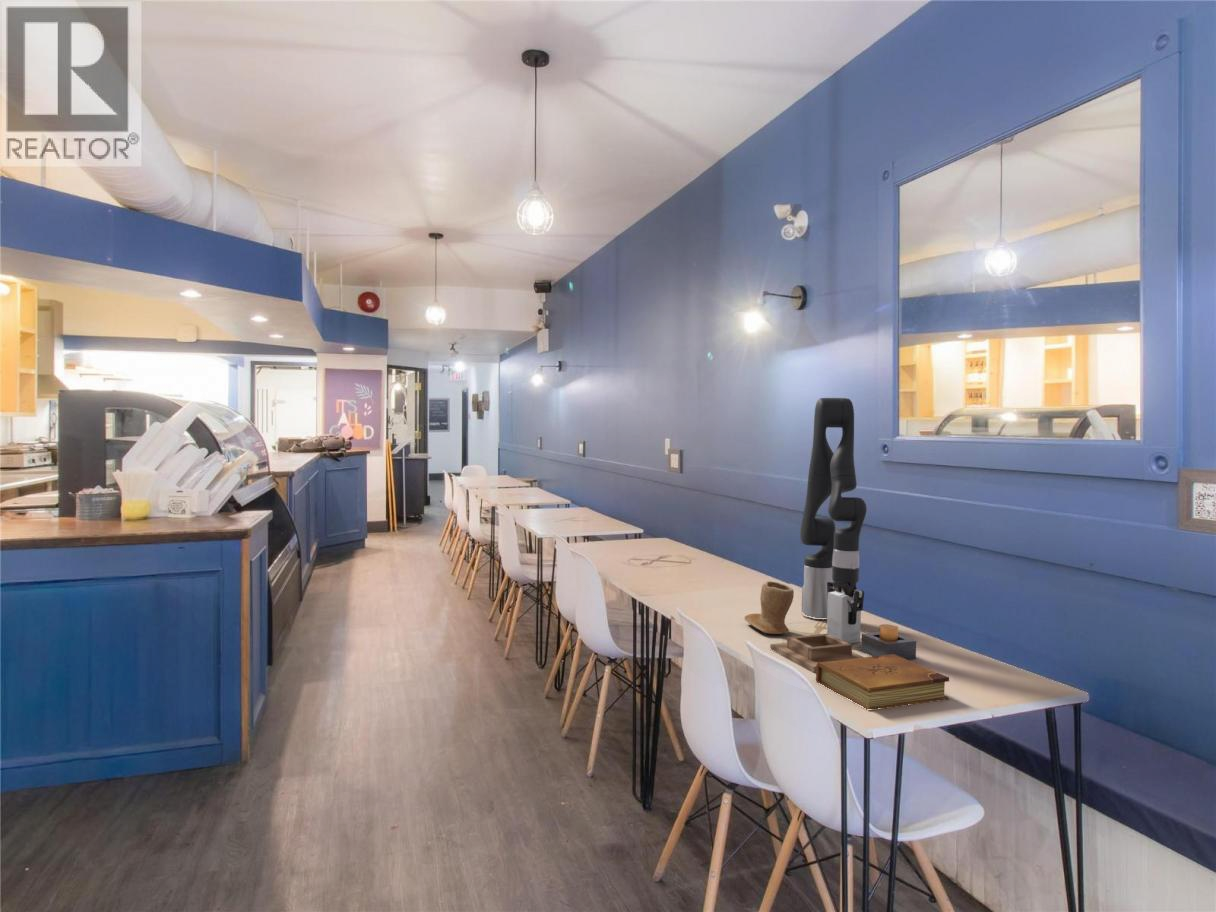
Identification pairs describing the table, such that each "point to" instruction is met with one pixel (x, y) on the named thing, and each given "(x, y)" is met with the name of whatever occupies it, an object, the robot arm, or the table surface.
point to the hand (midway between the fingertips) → (844, 621)
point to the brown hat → (772, 608)
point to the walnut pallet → (814, 650)
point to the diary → (882, 681)
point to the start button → (888, 632)
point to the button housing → (888, 646)
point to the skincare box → (842, 618)
